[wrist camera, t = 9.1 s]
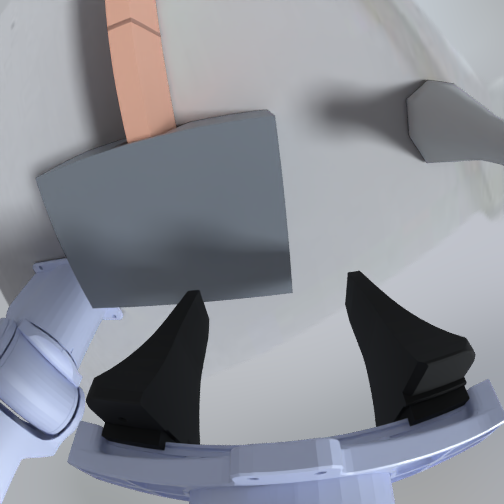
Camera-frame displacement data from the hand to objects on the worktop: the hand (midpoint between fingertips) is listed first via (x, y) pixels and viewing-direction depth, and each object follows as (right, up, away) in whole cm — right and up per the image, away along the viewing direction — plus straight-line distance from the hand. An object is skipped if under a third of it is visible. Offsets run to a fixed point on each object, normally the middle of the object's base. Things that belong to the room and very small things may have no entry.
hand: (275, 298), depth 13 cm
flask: (+14, +13, +4) cm, 19 cm away
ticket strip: (-8, +16, +1) cm, 18 cm away
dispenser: (-6, +7, +7) cm, 12 cm away
